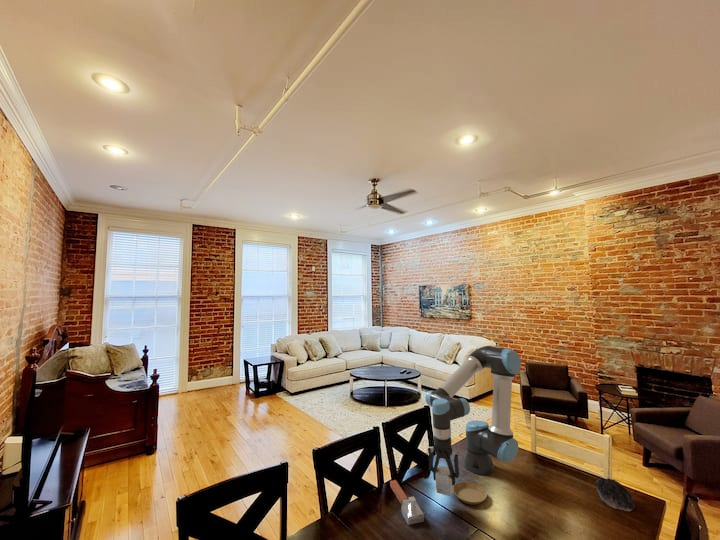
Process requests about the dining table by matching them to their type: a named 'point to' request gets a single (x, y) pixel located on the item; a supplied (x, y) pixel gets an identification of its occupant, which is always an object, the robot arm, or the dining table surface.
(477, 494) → the plant saucer
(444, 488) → the white upright block
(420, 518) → the mallet
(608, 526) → the dining table surface
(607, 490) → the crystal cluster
